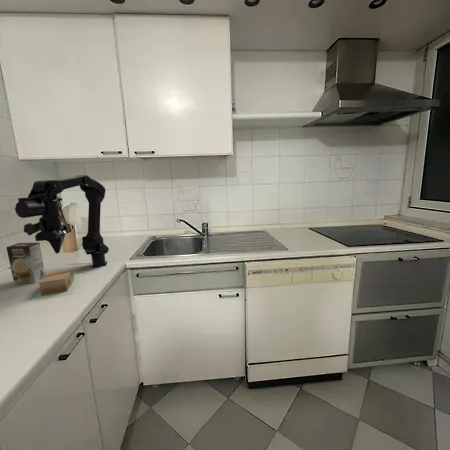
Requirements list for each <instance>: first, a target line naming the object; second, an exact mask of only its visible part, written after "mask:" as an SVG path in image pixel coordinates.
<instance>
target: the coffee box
mask: <svg viewBox="0 0 450 450" xmlns="http://www.w3.org/2000/svg"><path fill="white" fill-rule="evenodd" d="M5 248H6V253H7V257H8V262H9V266H10V270H11V271H10V272H11V276H12V280H13V281H12V282H13V284H14V285H18V284H19V285H20V284H36V283H39V282H40V281H41V280H42V279H43V278H44V277H45V276H46V270H45V267H44V265H45V264H44V262H43V261H44V260H43V255H42V249H41V243H40V241H37V242H18V243H15V244H12V245H9V246H6V247H5Z"/></svg>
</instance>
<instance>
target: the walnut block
mask: <svg viewBox="0 0 450 450" xmlns="http://www.w3.org/2000/svg"><path fill="white" fill-rule="evenodd" d="M74 274H75V273H74V269H73V268H67V269H62V270H54V271H53V270H52V271H49V272H48V273H47V274H45V277H44V278H43V279H42V280H40V281H38V285H39V292H40V291H41V296H42V295H48V294H54V293H60V292H66V291H68V289H69V288H70V286H71V285H72V283H73V282H74Z"/></svg>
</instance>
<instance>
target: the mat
mask: <svg viewBox="0 0 450 450" xmlns="http://www.w3.org/2000/svg"><path fill="white" fill-rule="evenodd" d="M73 274H74V282H73V283H72V285H71V286H70V288H69V289H68V291H66V292H60V293H54V294H48V295H42V296H41V291H40V290H39V291H38V292H37V294H36V295H35V296H34V297H33V298H32V299H31V300H30V302H34V301H40V300H47V299H53V298H58V297H64V296H70V295H72V293H73V292H74V290H75V289H76V287H77V285H78V284H79V282H80V280H81V278H82V277H83V275H84V274H85V273H84V272H82V273H73Z"/></svg>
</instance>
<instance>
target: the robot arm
mask: <svg viewBox="0 0 450 450" xmlns="http://www.w3.org/2000/svg"><path fill="white" fill-rule="evenodd" d="M75 187H79V188H80V190H81V191H82V192H84V197H85V199H86V200H87V202H88V211H87V212H88V216H87V217H88V218H87V219H88V220H87V234H85V236H82V238H81V242H82V243H81V246H82V249H83V250H84V252H85V254H86V255H90V256H91V266H90V268H91V269H95V268H101V267H102V268H103V267H106V266H107V265H108V261H106V256H105V255H107V254H108V253H109V251H110V249H109V247H108V246H107V245H106V244H105V243H104V238H103V236H102V235H101V207H102V206H101V204H102V203H103V201H104V199H105V197H106V188H105V186H104V185H103V184H102V183H100V181H97V180H95V179H93V178H91V177H90V176H88V175H86V174H83V175H81V174H80V175H79V174H78V175H75V176H72V177H67V178H61V179H50V180H49V179H47V180H36V181H34V182H33V184H32V188H31V189H30V192H29V194H28V196H27V197H18V198H17V200H18V201H17V203H16V204H15V207H14V211H15V213H16V215H17V216H18V217H19V218H21V219H27V218H33V217H39V216H41V217H39V219H38V220H39V221H38V222H35V223H33V224H32V223H31V222H29V223H26V224H24V225H23V228H22V229H23V233H25V234H27V235H28V237H30V236H32V235H33V234H35V233H36V234H35V235H34V238H35V242H40V241H41V242H42V241H46V242H48V243H49V244H50V245H51V246H50V247H51V248H52V250H53V251H54V253H55V254H56V255H57V254H60V252H61V249H62V245H63V243H64V240H65V238H66V235H67V233H62V232H63V231H65V232H69V231H70V226H69V224H67V223H62V218H63V215H62V214H61V213H60V207H59V202H62V201H63V199H62V198H61V197H60V196H58V195H59V194H61V193H63V191H64V190H68V189H71V188H75Z"/></svg>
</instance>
